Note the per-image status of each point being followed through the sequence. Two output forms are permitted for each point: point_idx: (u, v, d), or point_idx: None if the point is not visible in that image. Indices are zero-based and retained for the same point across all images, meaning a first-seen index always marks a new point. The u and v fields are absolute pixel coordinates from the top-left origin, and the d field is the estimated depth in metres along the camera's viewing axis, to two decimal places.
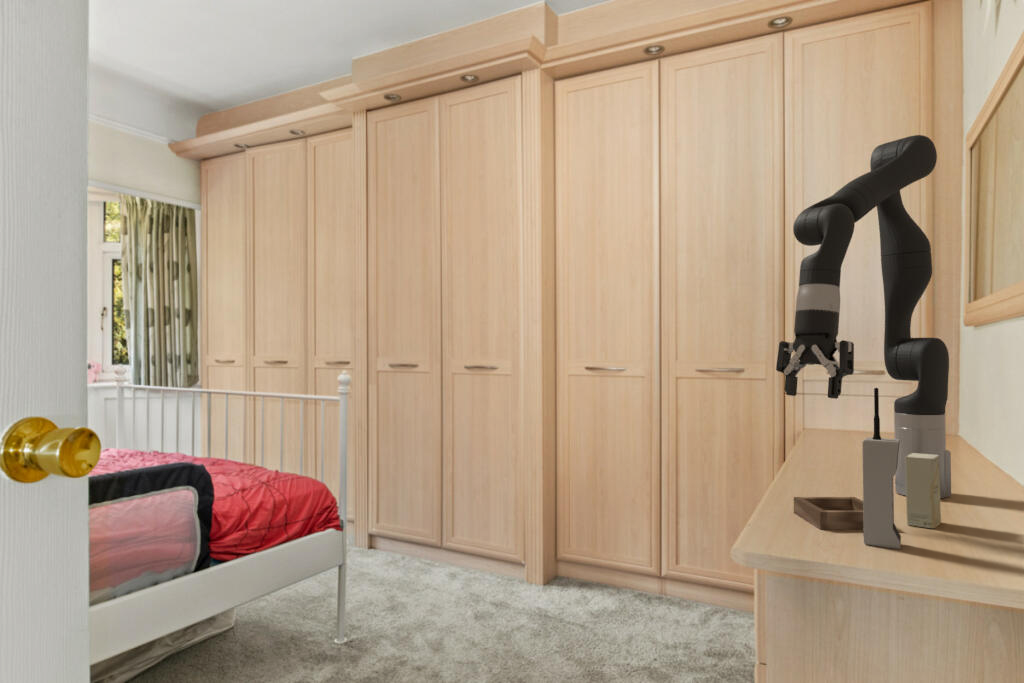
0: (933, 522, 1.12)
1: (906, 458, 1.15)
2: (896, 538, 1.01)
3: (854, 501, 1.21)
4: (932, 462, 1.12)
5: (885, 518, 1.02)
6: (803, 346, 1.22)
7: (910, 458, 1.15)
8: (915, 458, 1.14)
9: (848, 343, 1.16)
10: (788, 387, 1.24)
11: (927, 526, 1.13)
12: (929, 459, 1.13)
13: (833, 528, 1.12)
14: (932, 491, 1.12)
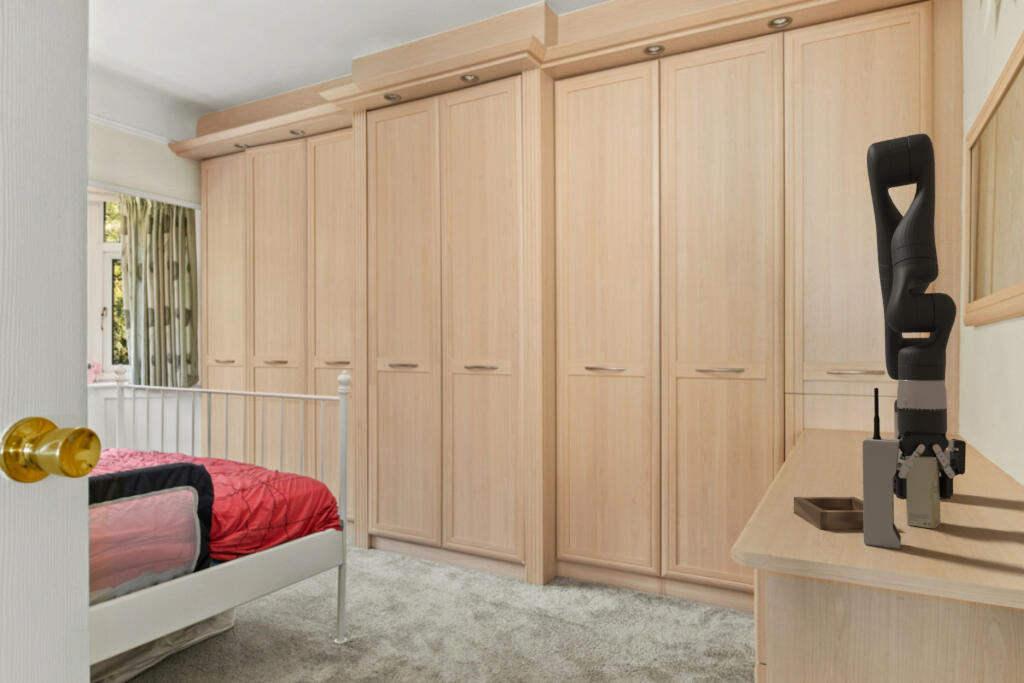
0: (933, 522, 1.12)
1: (906, 458, 1.15)
2: (896, 538, 1.01)
3: (854, 501, 1.21)
4: (932, 462, 1.12)
5: (885, 518, 1.02)
6: (922, 446, 1.14)
7: None
8: (915, 458, 1.14)
9: None
10: (905, 491, 1.15)
11: (927, 526, 1.13)
12: (929, 459, 1.13)
13: (833, 528, 1.12)
14: (932, 491, 1.12)
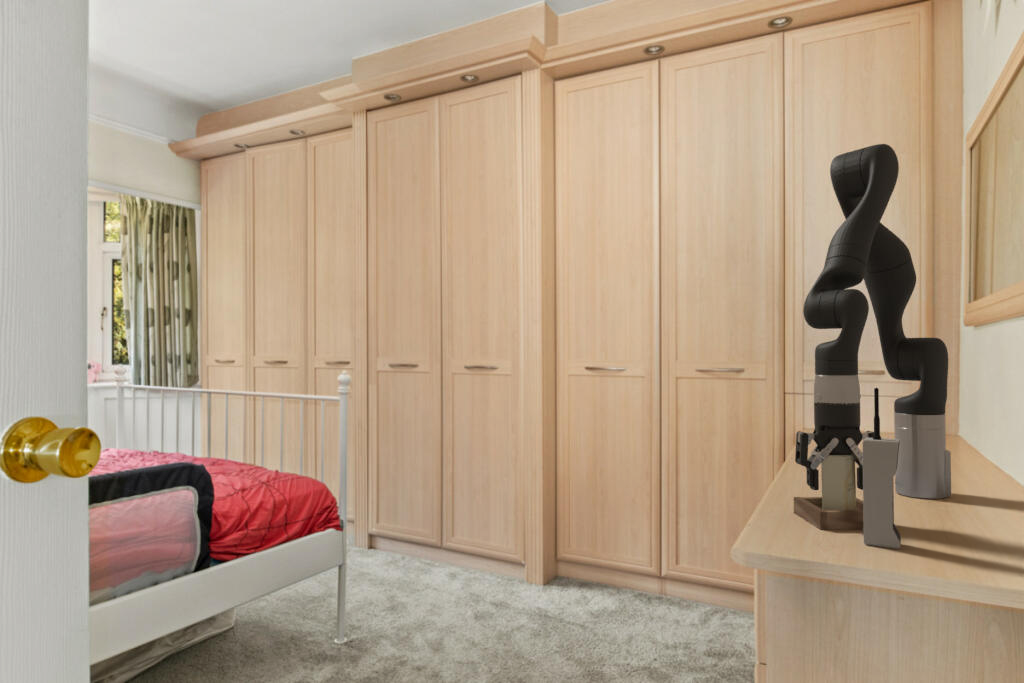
0: None
1: None
2: (896, 538, 1.01)
3: None
4: (845, 460, 1.15)
5: (885, 518, 1.02)
6: (836, 439, 1.16)
7: None
8: (830, 456, 1.16)
9: None
10: (817, 482, 1.17)
11: None
12: (843, 457, 1.15)
13: (833, 528, 1.12)
14: (846, 488, 1.15)
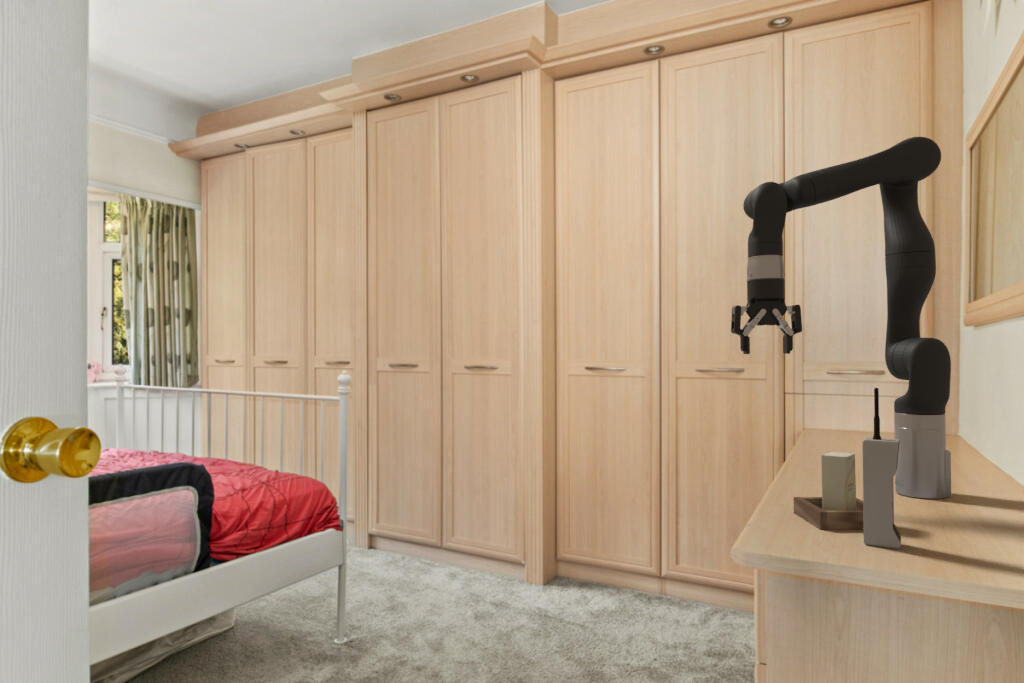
0: None
1: (822, 456, 1.17)
2: (896, 538, 1.01)
3: None
4: (845, 460, 1.15)
5: (885, 518, 1.02)
6: (764, 310, 1.38)
7: (825, 456, 1.17)
8: (830, 456, 1.16)
9: None
10: (748, 347, 1.39)
11: None
12: (843, 457, 1.15)
13: (833, 528, 1.12)
14: (846, 488, 1.15)
